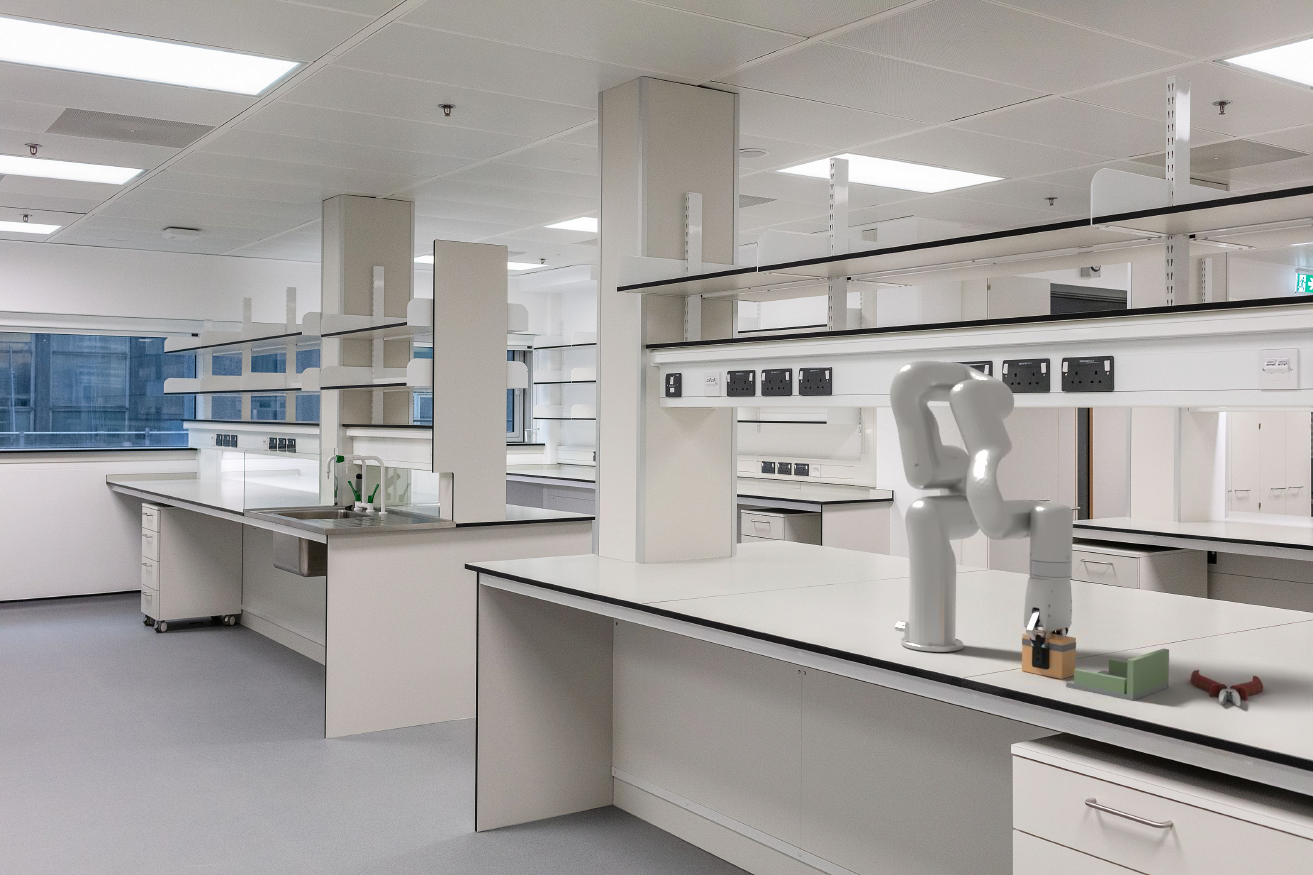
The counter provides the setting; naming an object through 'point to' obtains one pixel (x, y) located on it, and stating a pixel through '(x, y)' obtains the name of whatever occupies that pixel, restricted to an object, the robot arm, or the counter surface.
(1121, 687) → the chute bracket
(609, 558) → the counter surface
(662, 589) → the counter surface
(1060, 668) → the chute block
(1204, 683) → the pliers
